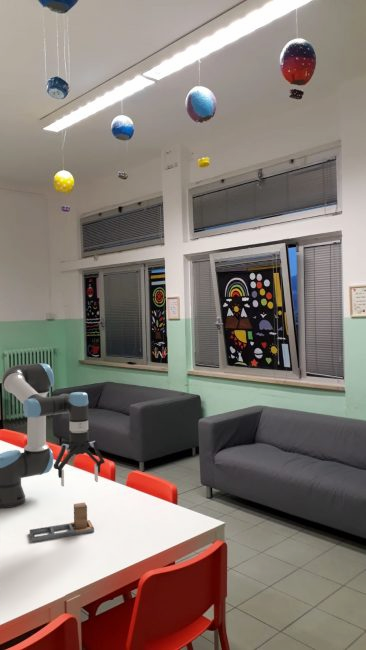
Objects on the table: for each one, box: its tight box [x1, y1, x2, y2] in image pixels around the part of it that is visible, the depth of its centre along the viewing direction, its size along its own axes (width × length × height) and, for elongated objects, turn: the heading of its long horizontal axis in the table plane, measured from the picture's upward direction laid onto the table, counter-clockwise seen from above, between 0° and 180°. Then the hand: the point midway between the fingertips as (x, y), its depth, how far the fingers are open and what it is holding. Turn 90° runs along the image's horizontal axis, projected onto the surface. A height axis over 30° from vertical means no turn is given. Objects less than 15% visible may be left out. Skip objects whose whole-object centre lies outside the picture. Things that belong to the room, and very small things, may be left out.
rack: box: [29, 519, 95, 543], centre depth 202 cm, size 9×24×2 cm, turn 112°
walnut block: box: [73, 502, 88, 530], centre depth 205 cm, size 4×4×10 cm
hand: (79, 483), depth 205 cm, fingers open, 13 cm apart
